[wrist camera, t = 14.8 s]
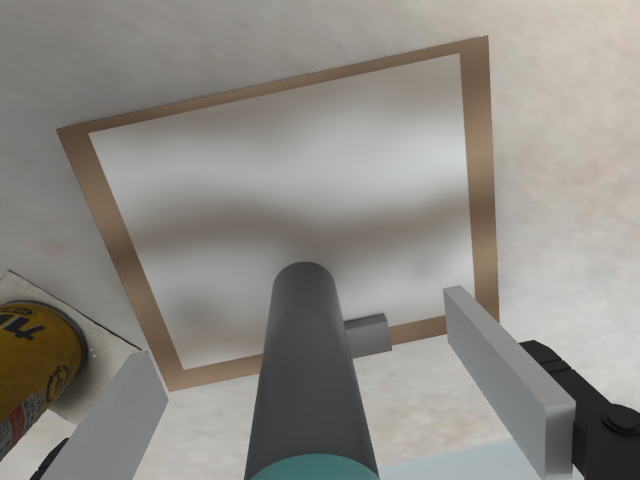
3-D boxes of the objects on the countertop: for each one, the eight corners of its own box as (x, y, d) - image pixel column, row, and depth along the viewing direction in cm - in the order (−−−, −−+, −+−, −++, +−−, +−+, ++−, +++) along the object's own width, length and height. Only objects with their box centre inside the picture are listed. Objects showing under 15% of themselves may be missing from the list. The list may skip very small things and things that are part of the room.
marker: (266, 263, 19) (199, 569, 6) (334, 256, 20) (411, 540, 6) (275, 323, 21) (236, 684, 7) (340, 315, 21) (413, 658, 8)
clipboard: (66, 128, 18) (39, 129, 16) (479, 38, 17) (500, 29, 16) (173, 383, 23) (162, 405, 21) (492, 316, 23) (509, 333, 21)
